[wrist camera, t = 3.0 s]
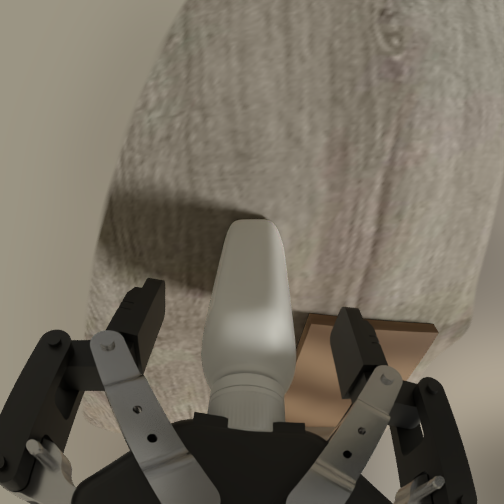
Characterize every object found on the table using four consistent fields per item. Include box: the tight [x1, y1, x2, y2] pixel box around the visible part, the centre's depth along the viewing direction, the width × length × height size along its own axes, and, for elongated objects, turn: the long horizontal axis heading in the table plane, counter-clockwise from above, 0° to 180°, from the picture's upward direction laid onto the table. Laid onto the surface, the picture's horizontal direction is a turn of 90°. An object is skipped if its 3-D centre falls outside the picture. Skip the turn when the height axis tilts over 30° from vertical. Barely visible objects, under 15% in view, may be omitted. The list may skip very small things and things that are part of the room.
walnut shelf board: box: [284, 313, 438, 440], centre depth 21 cm, size 14×10×3 cm
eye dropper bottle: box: [201, 219, 296, 432], centre depth 12 cm, size 4×6×12 cm
